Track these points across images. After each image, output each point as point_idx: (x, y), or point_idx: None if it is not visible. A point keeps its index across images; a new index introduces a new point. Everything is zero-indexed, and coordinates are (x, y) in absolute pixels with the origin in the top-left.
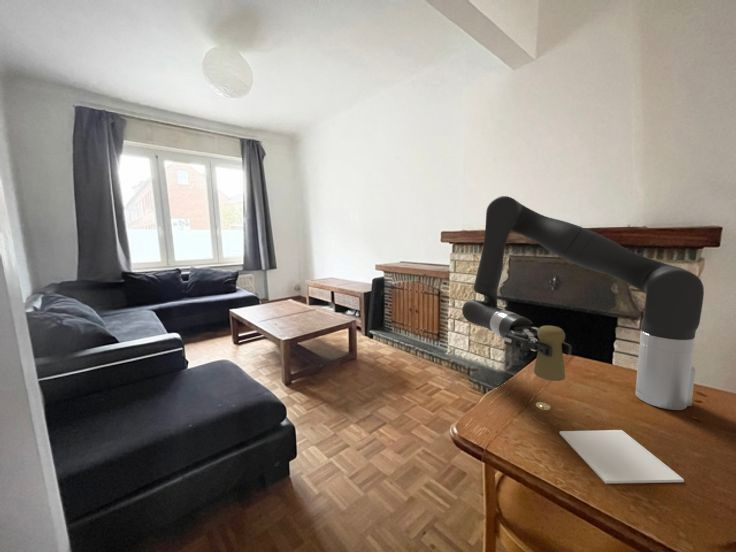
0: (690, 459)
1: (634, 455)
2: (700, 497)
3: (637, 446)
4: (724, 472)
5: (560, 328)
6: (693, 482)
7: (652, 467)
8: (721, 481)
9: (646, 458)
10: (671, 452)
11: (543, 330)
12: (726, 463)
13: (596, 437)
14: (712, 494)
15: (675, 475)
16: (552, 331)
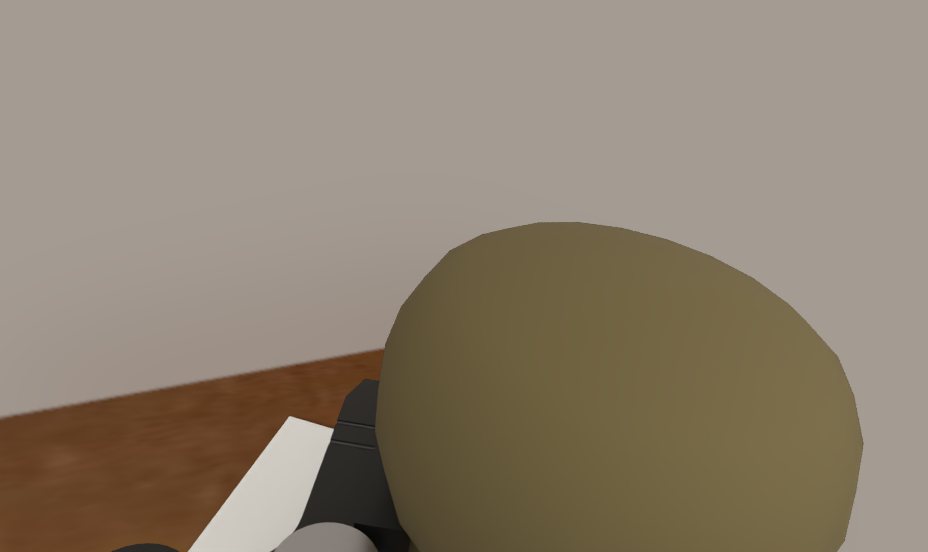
0: (124, 455)
1: (300, 515)
2: (318, 392)
3: (219, 541)
4: (122, 401)
5: (486, 242)
6: (263, 415)
7: (314, 466)
8: (186, 393)
9: (277, 493)
10: (127, 493)
11: (813, 331)
12: (50, 412)
13: None
14: (276, 386)
15: (291, 429)
16: (695, 252)
